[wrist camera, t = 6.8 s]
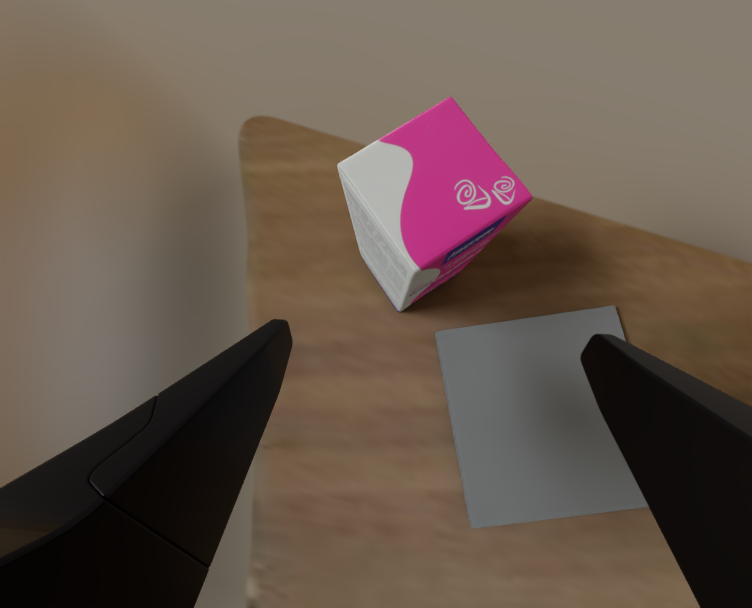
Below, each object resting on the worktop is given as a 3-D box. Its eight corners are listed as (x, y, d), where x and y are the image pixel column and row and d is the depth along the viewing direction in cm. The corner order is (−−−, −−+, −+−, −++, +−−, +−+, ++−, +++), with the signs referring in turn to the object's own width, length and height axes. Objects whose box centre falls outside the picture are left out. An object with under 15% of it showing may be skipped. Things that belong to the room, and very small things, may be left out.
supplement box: (400, 316, 21) (410, 276, 10) (360, 256, 22) (327, 157, 11) (461, 276, 21) (540, 193, 10) (419, 219, 22) (447, 85, 11)
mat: (663, 496, 18) (675, 503, 17) (468, 521, 18) (472, 528, 18) (606, 307, 20) (614, 305, 19) (434, 332, 21) (436, 331, 20)
